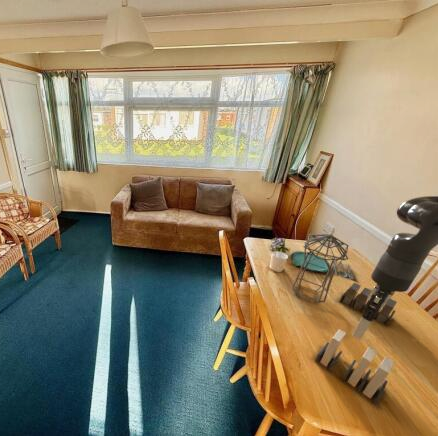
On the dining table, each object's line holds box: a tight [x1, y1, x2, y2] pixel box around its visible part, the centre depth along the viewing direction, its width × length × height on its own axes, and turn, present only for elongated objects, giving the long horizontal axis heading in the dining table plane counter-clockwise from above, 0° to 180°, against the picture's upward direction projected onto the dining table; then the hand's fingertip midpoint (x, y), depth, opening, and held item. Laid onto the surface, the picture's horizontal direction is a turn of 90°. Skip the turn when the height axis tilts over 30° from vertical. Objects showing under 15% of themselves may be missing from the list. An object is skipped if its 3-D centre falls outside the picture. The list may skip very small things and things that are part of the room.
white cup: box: [269, 250, 289, 273], centre depth 129 cm, size 8×8×10 cm
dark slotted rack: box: [314, 328, 395, 405], centre depth 76 cm, size 17×8×14 cm, turn 35°
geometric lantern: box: [291, 233, 349, 304], centre depth 105 cm, size 16×16×35 cm
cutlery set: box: [290, 250, 354, 281], centre depth 134 cm, size 20×30×2 cm, turn 58°
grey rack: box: [338, 282, 398, 327], centre depth 102 cm, size 17×8×10 cm, turn 35°
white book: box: [351, 306, 375, 341], centre depth 71 cm, size 2×6×13 cm, turn 124°
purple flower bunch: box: [270, 237, 291, 254], centre depth 147 cm, size 11×11×12 cm
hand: (370, 314), depth 70 cm, fingers closed on white book, 6 cm apart
